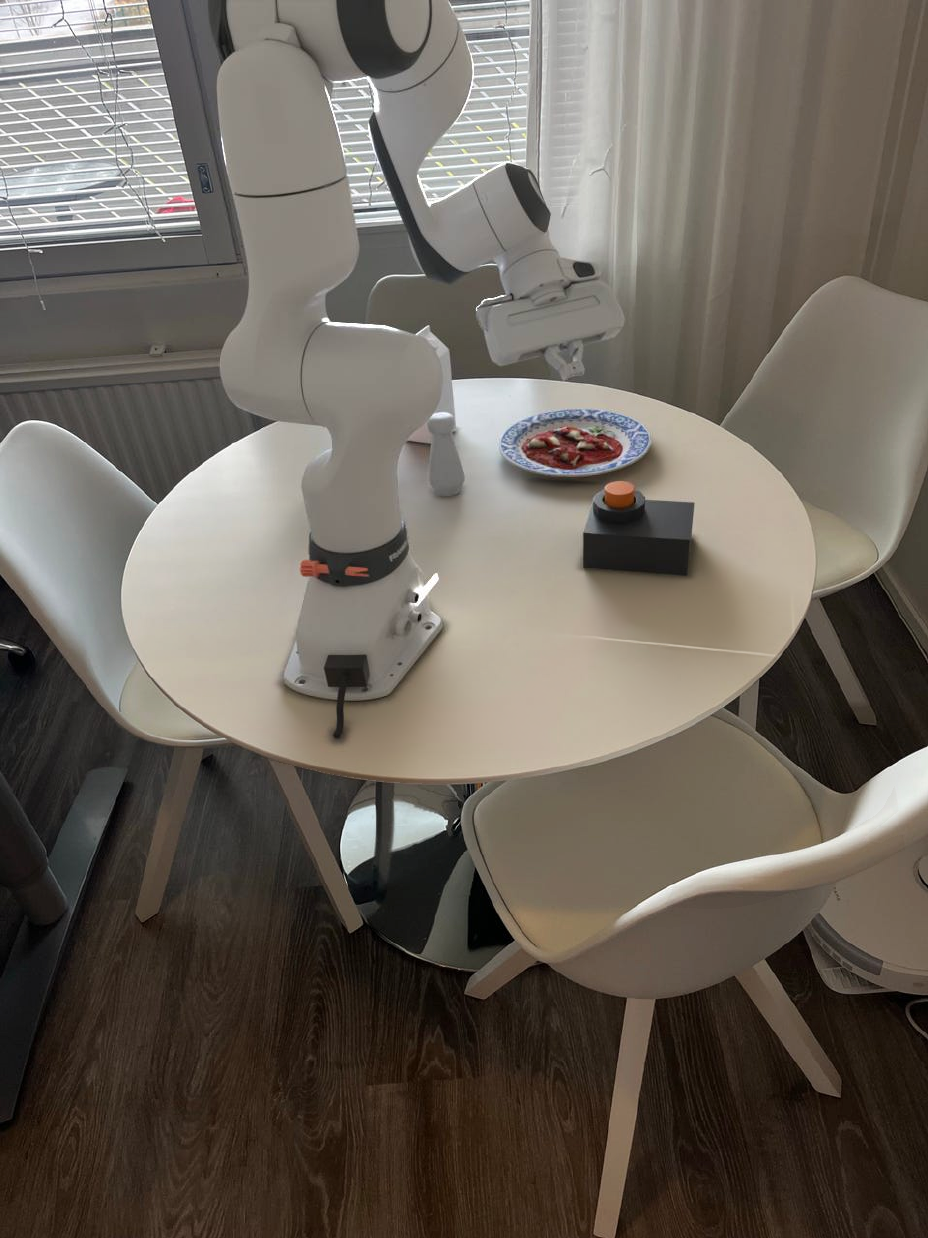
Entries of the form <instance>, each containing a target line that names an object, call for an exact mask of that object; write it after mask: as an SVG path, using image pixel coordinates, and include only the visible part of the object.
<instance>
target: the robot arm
mask: <svg viewBox="0 0 928 1238" xmlns="http://www.w3.org/2000/svg"><path fill="white" fill-rule="evenodd" d="M207 16H208V24H209V27H210V33H211V36H212V41H213V43H214V44H215V48H216V50H217V53H218V56H219V58H220V61H221V63H222V64H221V66H220V68H219V70H218V73H217V78H216V97H217V99H216V100H217V112H218V121H219V131H220V139H221V145H222V152H223V158H224V163H225V168H226V173H227V178H228V182H229V186H230V190H231V195H232V198H233V202H234V207H235V211H236V216H237V220H238V224H239V230H240V235H241V238H242V243H243V248H244V254H245V258H246V265H247V274H248V292H247V299H246V304H245V309H244V312H243V315H242V317H241V320H240V321H239V322H238V324H237V325H236V327H234V329H232V331H231V332H230V333H229V334H228V336H227V337H226V339H225V342H224V343H223V346H222V347H221V348H222V349H221V352H220V357H219V377H220V380H221V383H222V387H223V389H224V393H226V395H227V397H228V399H229V400H230V401H231V403H232V404H233V405H234V406H235V407H236V408H238V409H241V410H243V411H245V412H248V413H251V414H253V415H256V416H259V417H262V418H264V419H268V420H270V421H273V422H280V423H288V424H289V423H290V424H299V425H308V426H309V425H310V426H319V427H322V428H326V429H327V431H328V433H329V435H330V440H331V447H330V448H327V449H326V450H324V451H323V452H321V453H320V454H318V455H316V456H315V457H314V458H312V460H311V461H310V462H309V463H308V465H306V468H305V470H304V473H303V475H302V478H301V483H300V484H301V485H300V488H301V489H300V490H301V493H302V497H303V502H304V507H305V511H306V516H307V520H308V525H309V534H308V553H307V554H308V557H309V558H308V559H305V558H304V559H302V560H301V562H300V565H299V566H300V567H299V573H300V576H302V577H308V579H307V584H306V588H305V592H304V596H303V600H302V604H301V609H300V613H299V617H298V621H297V627H296V629H295V630H296V631H295V640H294V644H293V646H292V649H291V652H290V655H289V658H288V660H287V663H286V666H285V669H284V672H283V674H282V675H283V676H282V677H283V678H282V679H283V683H284V684H285V685H286V686H287V687H288V688H289V689H291V690H293V691H294V692H297V693H299V694H302V695H306V696H308V697H309V696H310V697H314V698H319V699H324V700H335V701H336V706H335V707H336V708H335V709H336V727H335V730H334V732H333V735H332V737H333V738H334V739H336V740H339V739H341V737H342V736H341V735H342V733H343V731H344V727H345V713H344V708H345V706H344V705H345V701H347V702H348V701H349V702H354V701H355V702H357V701H371V700H375V699H379V698H383V697H387V696H389V695H390V694H391V693H392V692H394V690H395V689H396V687H397V686H399V684H400V683H401V681H402V680H403V679H404V677H405V676H406V675H407V673H408V672H409V671H410V670H411V668H413V666H414V665H415V664H416V662H417V661H418V660H419V658H420V657H421V656H422V655H423V654H424V653H425V651H426V650H427V649H428V647H429V646H430V645H431V643H432V642H433V641H434V640H435V638H436V637H437V636H438V635H439V633H441V631H442V629H443V628H444V625H443V622H442V618H441V617H440V616H439V615H438V614H436V613H434V611H432V610H431V609H432V608H431V606H430V599H429V594H428V593H429V592H430V591H431V589H432V588H433V587H434V586H435V585H436V583H437V582H438V581H439V576H438V575H439V574H438V573H435V574H433V576H432V577H431V579H429V581H428V582H427V583H426V581H425V577H424V573H423V571H422V569H421V567H419V566H418V564H416V562H415V561H414V559H413V558H412V556H411V554H410V553H409V551H410V543H409V537H410V536H409V531H408V528H407V525H406V521H405V519H404V518H403V516H402V515H401V514H402V513H401V505H400V497H399V485H398V465H399V459H400V456H401V452H402V451H403V450H402V449H403V447H404V446H405V444H406V443H407V442H408V441H407V439H408V438H409V437H410V436H411V435H412V434H413V433H414V432H415V431H416V430H417V429H419V428H420V427H422V426H423V425H424V424H425V423H426V422H427V421H428V420H429V419H430V418H431V416H432V415H433V413H434V412H435V410H436V408H437V406H438V404H439V401H440V398H441V395H442V390H443V373H442V367H441V363H440V361H439V358H438V355H437V353H436V352H435V350H434V348H433V347H432V345H431V344H430V342H429V341H428V340H427V339H425V338H424V337H421V336H418V335H415V334H416V333H412V332H408V331H406V330H402V329H399V328H395V327H392V326H388V325H381V324H365V323H364V324H363V323H347V322H334V321H331V320H330V319H329V317H328V313H327V306H326V295H327V293H329V292H331V291H332V290H334V289H335V288H336V287H338V286H339V285H340V284H342V283H343V282H344V281H345V280H347V279H348V278H349V276H350V275H351V274H352V272H353V271H354V269H355V267H356V265H357V261H358V258H359V254H360V241H359V235H358V228H357V223H356V217H355V210H354V205H353V200H352V193H351V187H350V179H349V174H348V169H347V164H346V157H345V152H344V148H343V143H342V140H341V135H340V131H339V127H338V123H337V120H336V117H335V113H334V109H333V107H332V96H333V90H334V83H344V82H351V81H352V82H353V81H359V80H363V79H367V81H368V82H369V84H370V86H371V88H372V90H373V93H374V110H373V111H372V112H371V115H370V117H369V118H368V120H367V126H368V134H369V138H370V142H371V145H372V149H373V151H374V154H375V157H376V160H377V162H378V165H379V167H380V171H381V173H382V176H383V177H384V180H385V182H386V183H385V184H386V185H387V187H388V190H389V193H390V194H391V197H392V200H393V202H394V205H395V207H396V209H397V211H398V214H399V216H400V218H401V222H402V224H403V226H404V228H405V231H406V234H407V238H408V243H409V247H410V248H409V249H410V251H411V254H412V256H413V259H414V262H415V263H416V265H417V266H418V268H419V270H420V271H421V273H423V275H425V277H426V278H427V279H428V280H430V281H432V282H436V283H439V284H445V285H454V284H455V283H456V282H458V281H459V280H461V279H463V278H464V277H466V276H468V275H469V274H470V273H471V272H472V271H473V270H475V269H476V268H478V267H481V266H482V265H484V264H486V263H488V262H489V261H492V260H493V262H494V263H495V264H496V266H497V268H498V270H499V271H498V272H499V279H500V283H501V285H502V288H503V290H504V292H505V294H504V295H500V296H497V297H494V298H487V299H484V300H482V301H481V303H480V304H479V305H478V306H477V307H476V309H475V317H476V319H477V322H478V325H479V327H480V328H481V330H483V334H484V339H485V343H486V346H487V347H486V348H487V351H488V354H489V356H490V360H491V362H492V363H494V364H496V365H497V366H499V367H504V366H507V365H512V364H515V363H519V362H523V361H527V360H532V359H536V358H540V357H544V359H545V361H546V363H547V364H549V366H551V367H552V368H554V369H555V370H556V371H558V373H559V375H560V378H561V380H562V381H563V382H564V381H568V380H573V379H576V378H581V377H582V376H583V375H585V372H586V368H585V366H584V363H583V361H582V360H583V354H584V346H587V345H591V344H595V343H600V342H603V341H607V340H611V339H614V338H616V337H617V336H618V335H619V333H620V332H621V331H622V329H623V328H624V325H625V322H626V319H625V314H624V311H623V309H622V307H621V305H620V302H619V300H618V298H617V297H616V295H615V293H614V291H613V289H612V288H611V286H610V285H609V284H608V283H606V281H604V280H602V279H600V277H601V276H602V270H601V267H600V265H599V264H598V263H596V262H593V261H585V260H577V259H570V258H566V257H561V256H560V253H559V251H558V250H557V249H556V247H555V246H554V245H553V242H552V241H551V239H550V231H549V226H550V221H551V215H552V213H551V211H550V209H549V208H548V206H547V203H546V201H545V198H544V196H543V193H542V190H541V186H540V185H539V181H538V179H537V178H536V176H535V174H534V173H533V171H532V170H531V169H529V168H528V167H525V166H523V165H520V164H518V163H514V162H510V161H506V162H504V163H501V164H499V165H497V166H495V167H493V168H491V169H490V170H487V171H486V172H484V173H483V174H481V175H479V176H477V177H475V178H473V180H471V181H469V182H468V183H467V184H465V185H463V186H462V187H460V188H458V189H456V190H454V191H453V192H450V193H449V194H448V195H446V196H444V197H442V198H440V199H438V200H434V201H428V199H427V196H426V193H425V190H424V187H423V184H422V181H421V179H420V177H419V170H420V168H421V166H422V164H423V162H424V160H425V159H426V158H427V156H428V155H429V153H430V152H431V151H432V149H434V147H435V145H437V143H438V142H439V141H441V139H442V138H443V137H444V136H445V135H446V133H447V132H449V130H451V128H452V127H453V126H454V125H455V124H456V123H457V121H458V120H459V118H460V116H461V115H462V113H463V111H464V109H465V107H466V105H467V103H468V101H469V97H470V95H471V90H472V87H473V81H474V60H473V57H472V53H471V50H470V47H469V44H468V41H467V38H466V35H465V32H464V30H463V28H462V25H461V23H460V21H459V19H458V17H457V15H456V13H455V11H454V9H453V7H452V5H451V3H450V1H449V0H207ZM564 351H567V353H568V355H569V356H572V362H571V361H570V362H567V361H565V359H563V358H562V357H561V355H559V354H560V353H561V352H564Z"/></svg>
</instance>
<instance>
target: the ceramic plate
mask: <svg viewBox="0 0 928 1238" xmlns="http://www.w3.org/2000/svg"><path fill="white" fill-rule="evenodd" d="M651 445H652V435H651V432H650V430H648V428H647V427H646V426H645V425H644V424H643V423H641V422H640V421H637V420H636V419H634V418H632V417H630V416H627V415H625V414H621V413H617V412H614V411H610V410H609V411H608V410H602V409H593V408H567V409H558V410H552V411H547V412H541V413H538V414H535V415H531V416H528V417H526V418H524V419H521V420H519V421H517V422H516V423H513V424H511V425H510V426H509V427H508V428H507V429H505V431H503V432H502V433H501V436H500V437H499V439H498V450H499V452H500V454H501V456H502V457H503V459H505V460H506V461H507V462H508V463H510V464H511V465H513V466H515V467H516V468H519V469H521V470H524V471H527V472H530V473H533V474H539V475H544V476H550V477H567V478H568V477H569V478H574V477H575V478H576V477H591V476H597V475H602V474H608V473H610V472H614V471H618V470H621V469H623V468H626V467H628V466H630V465H633V464H634V463H636V462H638V461H639V460H640V459H642V458H643V457H644V456H645V455H646V454H647V453H649V450H650V448H651Z"/></svg>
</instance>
